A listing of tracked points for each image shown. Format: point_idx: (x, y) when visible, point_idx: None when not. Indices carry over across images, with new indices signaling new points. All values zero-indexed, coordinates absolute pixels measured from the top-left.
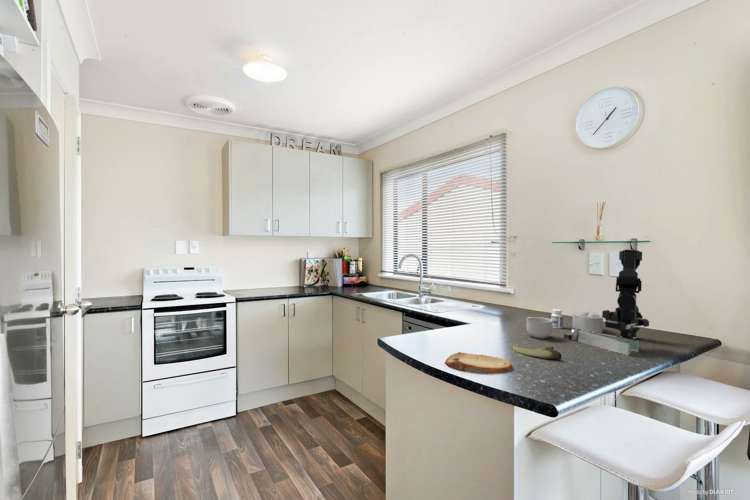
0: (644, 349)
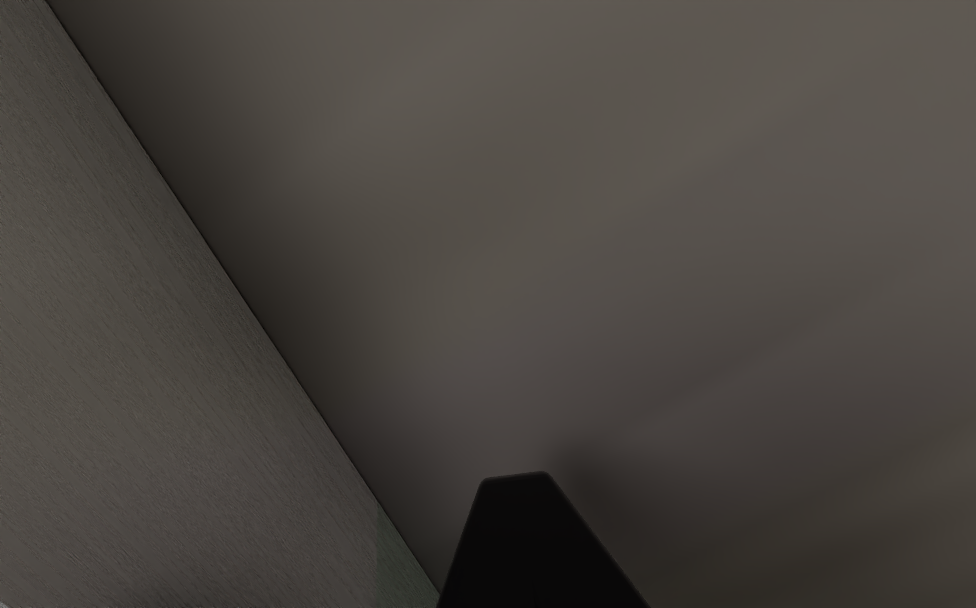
0: (936, 505)
